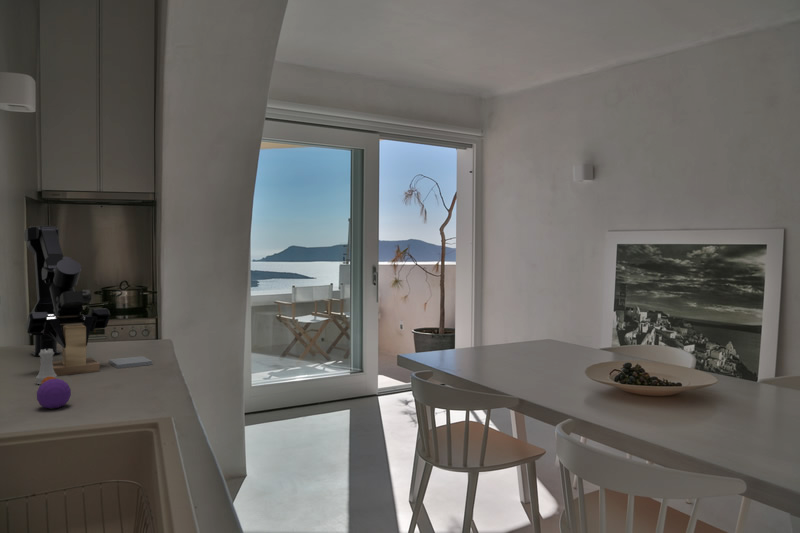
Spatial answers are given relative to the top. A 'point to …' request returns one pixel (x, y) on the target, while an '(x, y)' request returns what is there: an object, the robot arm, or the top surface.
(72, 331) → the oak block
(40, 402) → the purple round ball
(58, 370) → the walnut ledge
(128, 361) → the slate tile
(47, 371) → the rook chess piece
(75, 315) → the robot arm
